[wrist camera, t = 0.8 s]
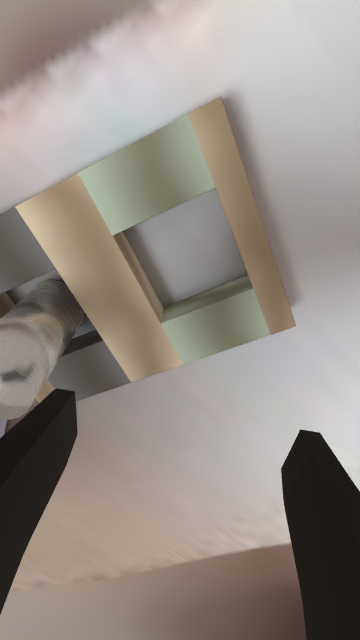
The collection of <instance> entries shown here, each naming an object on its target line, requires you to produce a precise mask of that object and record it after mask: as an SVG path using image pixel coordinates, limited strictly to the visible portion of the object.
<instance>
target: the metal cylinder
mask: <svg viewBox="0 0 360 640" xmlns="http://www.w3.org/2000/svg"><path fill="white" fill-rule="evenodd" d="M85 314H86V313H85V312H84V310H83V309H82V307H81V306H80V304H79V303H78V301H77V300H76V298H75V297H74V295H73V294H72V292H71V291H70V289H69V288H68V286H67V285H66V283H65V282H62V281H58V280H46V281H43V282H41V283H39V284H37V285H36V286H35V287H34V288H33V289H32V290H31V291H30V292H29V293H28V294H27V295H25V296H24V297H23V298H22V299H21V300H20V301H19V302H18V303H17V304H16V305H15V306H14V307H13V308H12V309H11V310H10V311H8V312H7V313H6V314H5V315H4V316H3V317H2V318H1V319H0V420H11V419H15V418H18V417H20V416H22V415H24V414H25V413H26V412H27V411H28V410H29V408H30V407H31V405H32V403H33V402H34V400H35V398H36V397H37V395H38V393H39V392H40V390H41V388H42V387H43V385H44V384H45V382H46V380H47V379H48V377H49V375H50V374H51V372H52V370H53V369H54V367H55V365H56V364H57V362H58V361H59V359H60V357H61V356H62V354H63V352H64V351H65V349H66V347H67V346H68V344H69V342H70V341H71V339H72V338H73V336H74V334H75V333H76V331H77V329H78V328H79V326H80V324H81V323H82V321H83V319H84V317H85Z"/></svg>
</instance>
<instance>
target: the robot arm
mask: <svg viewBox="0 0 360 640" xmlns="http://www.w3.org/2000/svg"><path fill="white" fill-rule="evenodd" d="M6 424H7V420H0V614H1V611H2V609H3V606H4V603H5V601H6V598H7V595H8V593H9V590H10V588H11V585H12V582H13V580H14V577H15V575H16V572H17V570H18V567H19V564H20V562H21V559H22V557H23V554H24V552H25V550H26V548H27V545H28V543H29V541H30V539H31V537H32V534H33V532H34V530H35V528H36V526H37V524H38V522H39V520H40V518H41V516H42V514H43V512H44V510H45V508H46V506H47V504H48V502H49V500H50V498H51V496H52V494H53V492H54V490H55V487H56V485H57V483H58V481H59V479H60V477H61V475H62V473H63V471H64V469H65V467H66V464H67V462H68V459H69V456H70V454H71V451H72V448H73V445H74V442H75V439H76V437H77V417H76V399H75V391H70V390H64V389H58V388H56V389H54V390H53V391H52V392H51V393H50V394H49V395H48V396H46V397H45V398H44V399H43V400H42V401H41V402H40V403H39V404H38V405H37V406H36V407H35V408H34V409H33V410H31V411H30V412H29V413H28V414H27V415H26V416H25V417H24V418H23V419H21V420H20V421H19V422H18V423H17V424H16V425H15V426H13V427H12V428H11V429H10V430H9V431H8V432H7V433H5V429H6ZM281 473H282V488H283V499H284V506H285V512H286V517H287V522H288V528H289V533H290V538H291V543H292V548H293V553H294V558H295V563H296V568H297V573H298V579H299V583H300V589H301V596H302V601H303V610H304V619H305V628H306V637H307V640H360V491H359V490H358V488H357V487H356V486H355V484H354V483H353V481H352V480H351V478H350V477H349V475H348V474H347V472H346V471H345V469H344V468H343V467H342V465H341V464H340V462H339V461H338V459H337V458H336V456H335V455H334V453H333V452H332V450H331V449H330V447H329V446H328V444H327V443H326V441H325V440H324V438H323V437H322V435H321V434H320V433H318V432H312V431H306V430H300V431H299V434H298V436H297V438H296V440H295V442H294V444H293V446H292V448H291V450H290V452H289V454H288V456H287V458H286V460H285V462H284V464H283V466H282V468H281Z"/></svg>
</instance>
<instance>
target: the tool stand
mask: <svg viewBox="0 0 360 640" xmlns="http://www.w3.org/2000/svg"><path fill="white" fill-rule="evenodd" d="M213 188H216V191H217V194H218V196H219V199H220V202H221V204H222V207H223V210H224V212H225V215H226V218H227V220H228V223H229V225H230V228H231V231H232V233H233V236H234V239H235V241H236V244H237V247H238V249H239V252H240V255H241V257H242V260H243V263H244V265H245V268H246V271H247V273H248V275H246V276H244V277H241V278H239V279H236V280H234V281H231V282H228V283H226V284H223V285H221V286H218V287H216V288H213V289H211V290H208V291H205V292H203V293H200V294H198V295H195V296H193V297H190V298H188V299H185V300H182V301H180V302H177V303H175V304H172V305H170V306H167V307H165V308H163V306H162V304H161V302H160V300H159V299H158V297H157V295H156V293H155V291H154V289H153V287H152V285H151V283H150V282H149V280H148V278H147V276H146V274H145V272H144V270H143V268H142V267H141V265H140V263H139V261H138V259H137V257H136V255H135V253H134V251H133V250H132V248H131V246H130V244H129V242H128V240H127V238H126V236H125V235H124V233H123V230H126V229H128V228H130V227H132V226H134V225H136V224H138V223H141V222H143V221H145V220H147V219H149V218H151V217H153V216H156V215H158V214H160V213H162V212H164V211H166V210H168V209H170V208H173V207H175V206H177V205H179V204H181V203H183V202H185V201H188V200H190V199H192V198H194V197H196V196H198V195H200V194H203V193H205V192H207V191H209V190H211V189H213ZM54 269H57V271H58V272H59V274H60V276H61V277H62V279H63V280H64V282H65V283H66V285H67V286H68V288H69V289H70V291H71V292H72V294H73V295H74V297H75V298H76V300H77V301H78V303H79V304H80V306H81V307H82V309H83V310H84V312H85V313H86V315H87V316H88V318H89V319H90V321H91V322H92V324H93V325H94V327H95V328H96V330H94V331H92V332H89V333H87V334H84V335H82V336H79V337H77V338H74V339H72V340H71V341H70V342H69V344H68V346H67V347H66V349H65V351H64V352H63V354H62V356H61V357H60V359H59V361H58V362H57V364H56V365H55V367H54V369H53V370H52V372H51V374H50V375H49V377H48V379H47V380H46V382H45V384H44V385H43V387H42V388H41V390H40V392H39V393H38V395H37V397H36V398H35V399H36V400H37V401H38V403H40V402H41V401H42V400H43V399H44V398H45V397H46V396H48V395H49V394H50V393H51V392H52V391H53V390H54V389H56V388H58V389H64V390H70V391H75V399H76V401H78V400H81V399H84V398H87V397H89V396H92V395H95V394H98V393H101V392H104V391H107V390H110V389H113V388H116V387H119V386H122V385H125V384H128V383H131V382H133V381H136V380H139V379H142V378H145V377H148V376H151V375H154V374H157V373H160V372H163V371H166V370H169V369H172V368H174V367H177V366H180V365H183V364H186V363H189V362H192V361H195V360H198V359H201V358H204V357H207V356H210V355H213V354H216V353H218V352H221V351H224V350H227V349H230V348H233V347H236V346H239V345H242V344H245V343H248V342H251V341H254V340H257V339H260V338H262V337H265V336H268V335H271V334H274V333H277V332H280V331H283V330H286V329H289V328H292V327H295V326H296V324H295V321H294V318H293V315H292V312H291V309H290V306H289V303H288V300H287V297H286V294H285V291H284V288H283V284H282V281H281V278H280V275H279V272H278V269H277V266H276V263H275V260H274V257H273V254H272V251H271V248H270V245H269V242H268V239H267V236H266V233H265V230H264V227H263V224H262V221H261V217H260V214H259V211H258V208H257V205H256V202H255V199H254V196H253V193H252V190H251V187H250V184H249V181H248V178H247V175H246V172H245V169H244V166H243V163H242V160H241V157H240V154H239V150H238V147H237V144H236V141H235V138H234V135H233V132H232V129H231V126H230V123H229V120H228V117H227V114H226V111H225V108H224V105H223V102H222V99H221V97H219V98H217V99H215V100H213V101H212V102H210V103H208V104H206V105H204V106H202V107H200V108H199V109H197V110H195V111H193V112H191V113H189V114H187V115H185V116H184V117H182V118H180V119H178V120H176V121H174V122H172V123H170V124H169V125H167V126H165V127H163V128H161V129H159V130H157V131H155V132H154V133H152V134H150V135H148V136H146V137H144V138H142V139H141V140H139V141H137V142H135V143H133V144H131V145H129V146H127V147H126V148H124V149H122V150H120V151H118V152H116V153H114V154H112V155H111V156H109V157H107V158H105V159H103V160H101V161H99V162H98V163H96V164H94V165H92V166H90V167H88V168H86V169H84V170H83V171H81V172H79V173H77V174H75V175H73V176H71V177H69V178H68V179H66V180H64V181H62V182H60V183H58V184H56V185H55V186H53V187H51V188H49V189H47V190H45V191H43V192H41V193H40V194H38V195H36V196H34V197H32V198H30V199H28V200H26V201H25V202H23V203H21V204H19V205H17V206H15V207H13V208H12V209H10V210H8V211H6V212H4V213H2V214H0V319H1V318H2V317H3V316H4V315H5V314H6V313H7V312H8V311H10V310H11V309H12V308H13V307H14V306H15V304H14V302H13V301H12V300H11V298H10V297H9V296H8V294H7V293H6V291H8V290H10V289H13V288H15V287H17V286H19V285H21V284H23V283H26V282H28V281H30V280H32V279H34V278H36V277H39V276H41V275H43V274H45V273H47V272H49V271H52V270H54Z"/></svg>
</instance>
